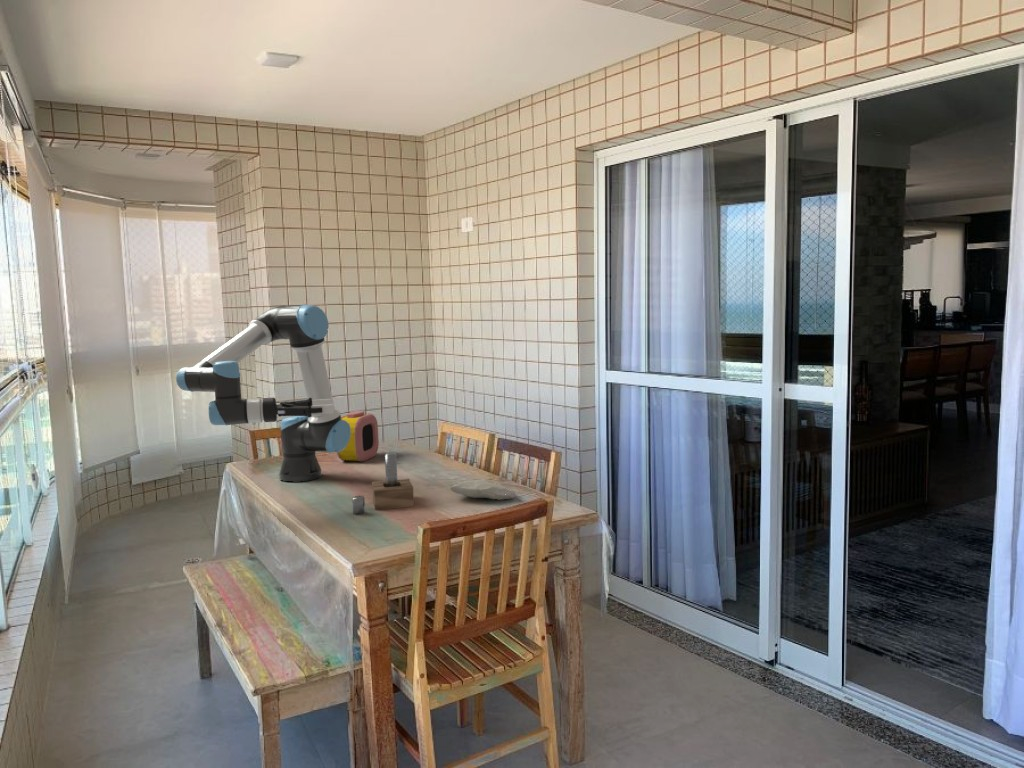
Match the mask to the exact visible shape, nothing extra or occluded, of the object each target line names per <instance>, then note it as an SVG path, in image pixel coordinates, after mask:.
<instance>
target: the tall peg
mask: <svg viewBox="0 0 1024 768" xmlns="http://www.w3.org/2000/svg"><path fill="white" fill-rule="evenodd" d="M384 463H385V464H384V466H385V481H386V487H396V486H398V481H397V480H398V464H397V463H398V461H397V453H395V452H387V453H384Z"/></svg>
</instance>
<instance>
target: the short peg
mask: <svg viewBox="0 0 1024 768" xmlns="http://www.w3.org/2000/svg"><path fill="white" fill-rule="evenodd" d="M351 500H352V514H353V515H354V514H355V516H361V514H362V515H364V513H365V514H366V508H365V507H366V504H365V495H364V496H363V495H355V496H353V497H352V499H351Z"/></svg>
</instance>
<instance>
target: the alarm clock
mask: <svg viewBox="0 0 1024 768" xmlns="http://www.w3.org/2000/svg"><path fill="white" fill-rule="evenodd" d="M341 419H342V420H345V421H347V422H348V423H349V425H350V429H351V435H350V440H349V442H348V444H347V446H346V447H345V448H344V449H343V450H342V451H340V452H336V455H337V457H338V459H340V460H341V461H343V462H346V461H350V462H351V461H353V462H354V461H359V462H362V461H363V462H366V461H369V460H370V459H372V458H374V457H375V456H376V455H377V453H378V451H379V441H380V440H379V424H378V420H377V418H376V416H375V415H374V414H373V413H367V414H365V410H355V411H351V412H348V413H347V414H346V415H344V416H341ZM345 460H346V461H345Z"/></svg>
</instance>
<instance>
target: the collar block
mask: <svg viewBox="0 0 1024 768" xmlns="http://www.w3.org/2000/svg"><path fill="white" fill-rule="evenodd" d="M397 481H398V486H396V487H386V480H380V481H379V480H378V481H372V482H371V488H372V489H371V491H372V503H373V506H374V510H375V511H378V509H379V510H389V509H398V508H407V507H408V508H409V507H414V506H415V503H414V499H415V498H414V487H413V485H412V482H411V481H410V478H403V479H397Z"/></svg>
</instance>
